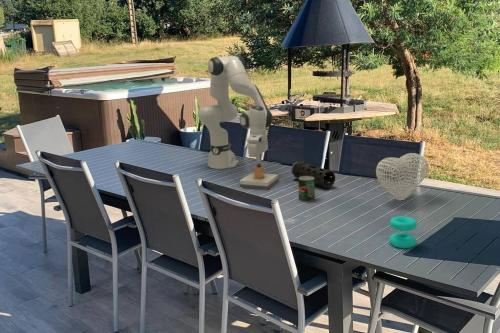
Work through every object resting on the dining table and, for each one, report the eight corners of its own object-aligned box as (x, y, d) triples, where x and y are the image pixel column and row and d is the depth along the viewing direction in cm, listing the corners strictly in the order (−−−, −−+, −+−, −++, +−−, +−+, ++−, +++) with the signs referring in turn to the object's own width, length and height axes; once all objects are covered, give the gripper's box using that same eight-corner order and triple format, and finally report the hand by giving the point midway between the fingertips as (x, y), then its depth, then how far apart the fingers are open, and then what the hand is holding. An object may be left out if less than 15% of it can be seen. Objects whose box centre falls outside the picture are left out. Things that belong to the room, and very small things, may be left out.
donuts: (418, 216, 201) (416, 225, 192) (417, 240, 203) (415, 250, 194) (391, 214, 204) (388, 222, 195) (390, 238, 207) (387, 247, 198)
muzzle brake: (321, 191, 272) (321, 172, 270) (290, 179, 295) (289, 162, 293) (335, 188, 277) (336, 169, 274) (303, 177, 300) (303, 159, 298)
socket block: (251, 179, 298) (251, 172, 297) (278, 181, 292) (278, 174, 291) (240, 187, 283) (239, 180, 282) (267, 190, 277) (267, 182, 276)
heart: (392, 210, 239) (394, 163, 233) (368, 202, 252) (369, 157, 246) (433, 199, 253) (436, 154, 248) (408, 191, 266) (410, 149, 261)
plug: (257, 179, 289) (256, 163, 287) (264, 180, 288) (263, 163, 286) (254, 181, 286) (254, 164, 283) (261, 182, 284) (261, 165, 282)
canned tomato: (317, 198, 260) (317, 176, 258) (310, 202, 254) (310, 180, 251) (302, 196, 264) (302, 175, 262) (295, 200, 258) (295, 178, 255)
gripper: (259, 133, 291) (260, 157, 294) (245, 139, 273) (246, 165, 276) (270, 133, 289) (271, 157, 292) (256, 140, 271) (257, 166, 274)
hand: (259, 161), depth 284 cm, fingers closed
